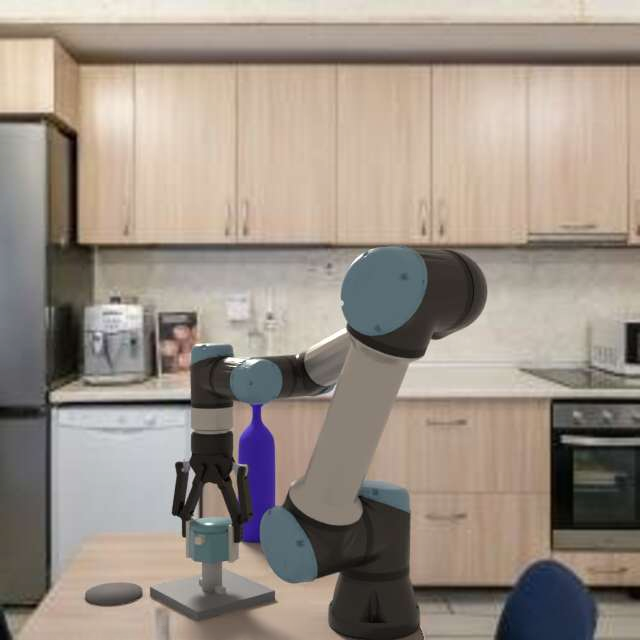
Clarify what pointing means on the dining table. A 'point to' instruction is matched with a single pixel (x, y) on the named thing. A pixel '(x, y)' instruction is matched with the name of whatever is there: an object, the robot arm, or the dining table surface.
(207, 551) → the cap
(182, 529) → the robot arm
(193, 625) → the dining table surface
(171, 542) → the dining table surface
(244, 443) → the bottle
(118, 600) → the mat
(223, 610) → the stand
